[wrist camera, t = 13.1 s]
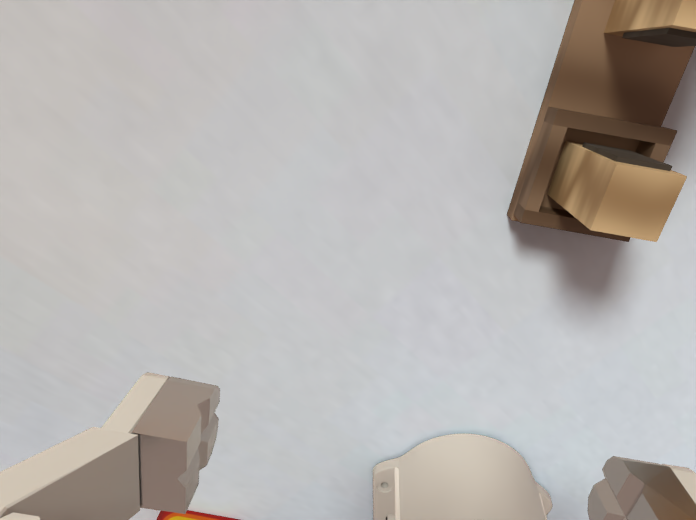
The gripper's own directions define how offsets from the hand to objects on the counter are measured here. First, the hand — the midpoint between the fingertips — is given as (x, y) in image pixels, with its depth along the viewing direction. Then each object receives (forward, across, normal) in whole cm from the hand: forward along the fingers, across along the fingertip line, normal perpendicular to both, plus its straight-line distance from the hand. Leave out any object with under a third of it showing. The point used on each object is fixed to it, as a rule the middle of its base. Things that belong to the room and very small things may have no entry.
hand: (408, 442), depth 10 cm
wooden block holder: (+29, -14, -7) cm, 33 cm away
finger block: (+28, -14, -2) cm, 31 cm away
